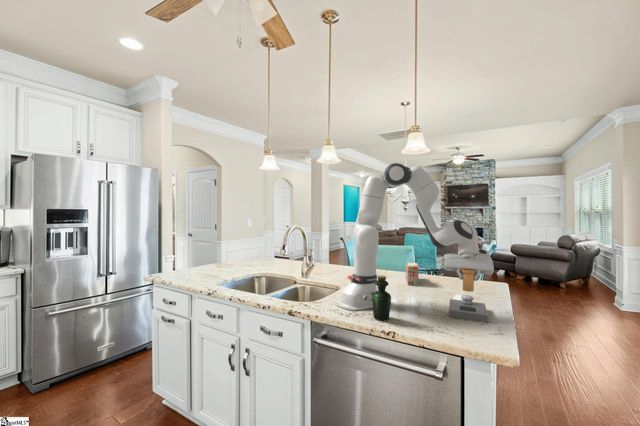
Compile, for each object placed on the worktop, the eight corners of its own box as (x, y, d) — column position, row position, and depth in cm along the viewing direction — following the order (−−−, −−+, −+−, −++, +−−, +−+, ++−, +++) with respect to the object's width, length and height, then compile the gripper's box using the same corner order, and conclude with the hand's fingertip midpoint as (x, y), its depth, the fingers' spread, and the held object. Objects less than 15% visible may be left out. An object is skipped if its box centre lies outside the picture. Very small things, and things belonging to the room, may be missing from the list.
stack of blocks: (405, 278, 207) (405, 260, 207) (414, 278, 206) (415, 260, 206) (407, 285, 186) (408, 265, 186) (418, 286, 185) (418, 266, 185)
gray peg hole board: (488, 322, 127) (488, 308, 127) (448, 316, 133) (449, 303, 133) (484, 309, 143) (484, 297, 143) (449, 305, 149) (450, 293, 149)
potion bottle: (386, 314, 135) (387, 274, 135) (393, 321, 127) (394, 278, 127) (369, 315, 134) (369, 274, 134) (375, 322, 126) (375, 278, 126)
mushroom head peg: (470, 292, 131) (471, 271, 131) (459, 289, 135) (459, 269, 135) (476, 290, 134) (477, 270, 134) (465, 287, 138) (465, 268, 138)
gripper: (444, 248, 145) (442, 273, 136) (493, 251, 137) (495, 277, 128) (444, 256, 149) (443, 280, 140) (491, 260, 141) (493, 285, 132)
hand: (468, 279), depth 134 cm, fingers closed on mushroom head peg, 4 cm apart
